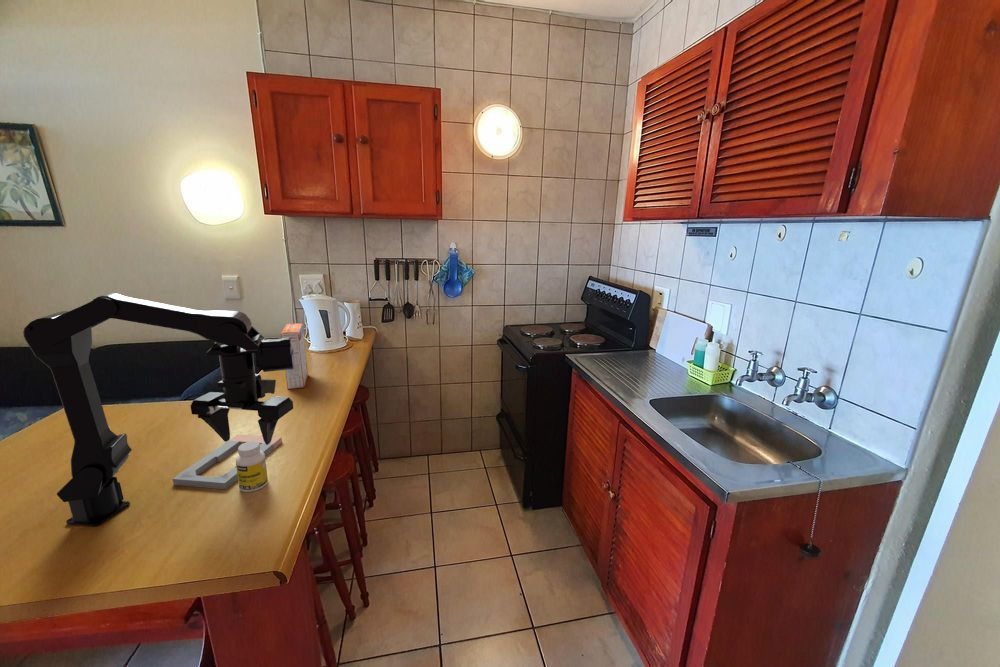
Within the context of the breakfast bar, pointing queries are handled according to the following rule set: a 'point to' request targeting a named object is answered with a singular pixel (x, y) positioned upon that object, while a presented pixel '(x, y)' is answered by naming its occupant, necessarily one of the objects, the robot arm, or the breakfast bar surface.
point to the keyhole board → (217, 455)
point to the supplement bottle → (251, 467)
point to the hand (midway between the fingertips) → (247, 442)
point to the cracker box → (296, 356)
